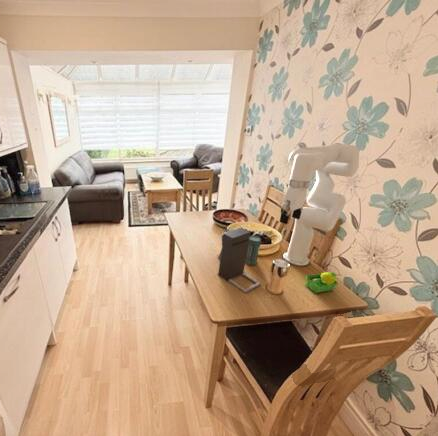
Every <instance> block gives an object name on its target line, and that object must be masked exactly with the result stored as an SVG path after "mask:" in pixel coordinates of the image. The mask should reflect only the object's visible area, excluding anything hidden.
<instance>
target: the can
mask: <svg viewBox="0 0 438 436" xmlns="http://www.w3.org/2000/svg"><path fill="white" fill-rule="evenodd" d="M261 243H262V238H261V237H259V236H257V235H250V237H249V245H248V251H247V256H246V261H245V265H249V266H255V265H256V264H257V261H258V256H259V252H260V248H261Z"/></svg>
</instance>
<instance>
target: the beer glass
mask: <svg viewBox="0 0 438 436" xmlns="http://www.w3.org/2000/svg"><path fill="white" fill-rule="evenodd" d="M290 265H291V264H290V263H289V262H287V261H286V260H285V259H281V258H275V259H273V261H272V263H271V266H270V272H269V282H268V285H267V286H266V287H267V288H266V289H267V290H268V291H269V292H270V293H272V294H274V295H279V294H282V291H283V290H282V289H283V284H284V282H285V281H286V279H287V278H288V274H289V271H290Z"/></svg>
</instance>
